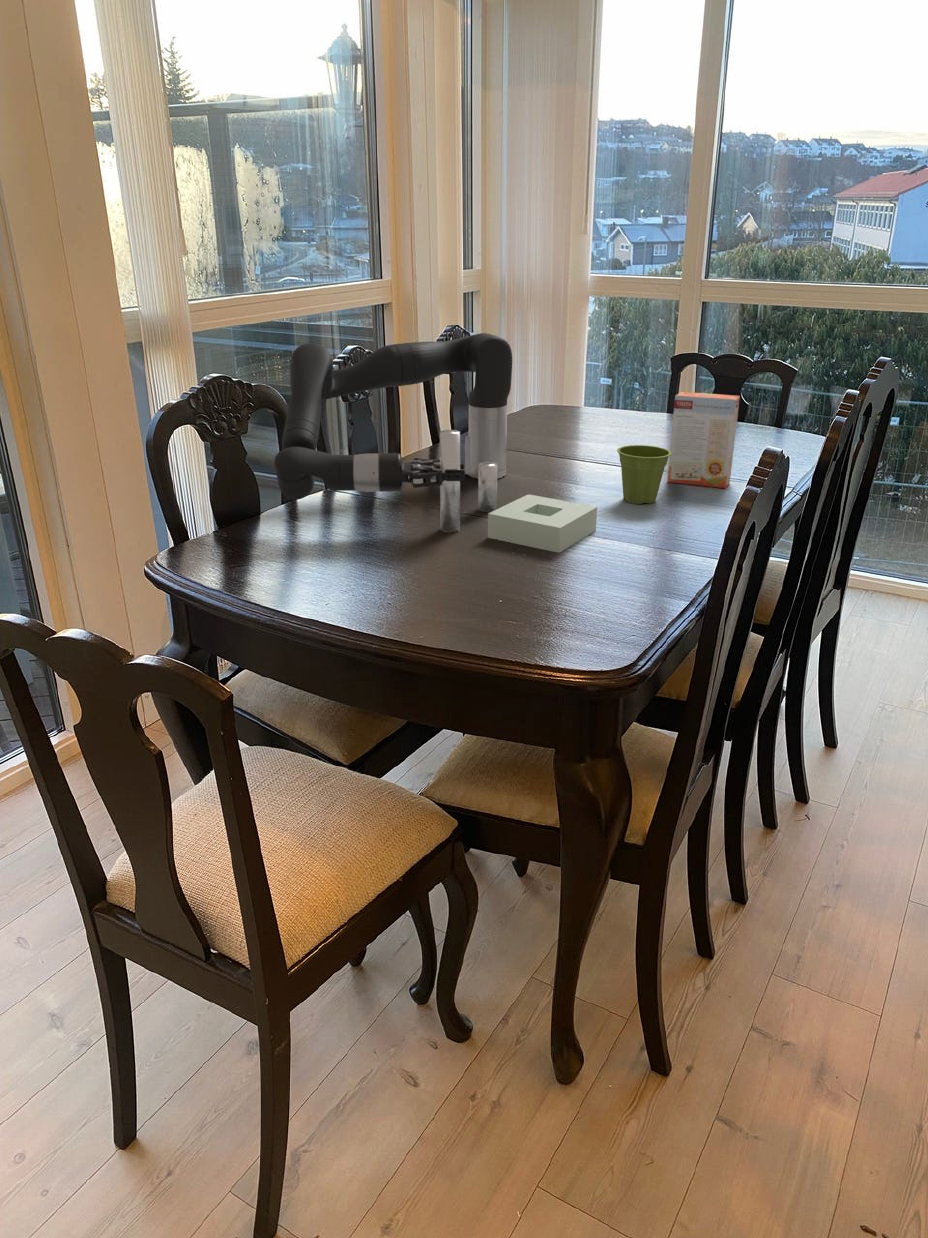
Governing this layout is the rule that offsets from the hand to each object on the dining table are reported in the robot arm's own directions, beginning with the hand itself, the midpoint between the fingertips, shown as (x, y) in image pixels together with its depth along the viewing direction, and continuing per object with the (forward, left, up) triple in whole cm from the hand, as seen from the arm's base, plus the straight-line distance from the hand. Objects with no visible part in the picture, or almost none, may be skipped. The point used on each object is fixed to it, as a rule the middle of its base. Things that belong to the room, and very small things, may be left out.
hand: (463, 471), depth 180 cm
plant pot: (+22, +39, -12) cm, 47 cm away
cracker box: (+28, +60, -12) cm, 68 cm away
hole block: (+15, +6, -12) cm, 20 cm away
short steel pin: (-3, +14, -12) cm, 19 cm away
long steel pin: (-2, -2, -12) cm, 12 cm away
